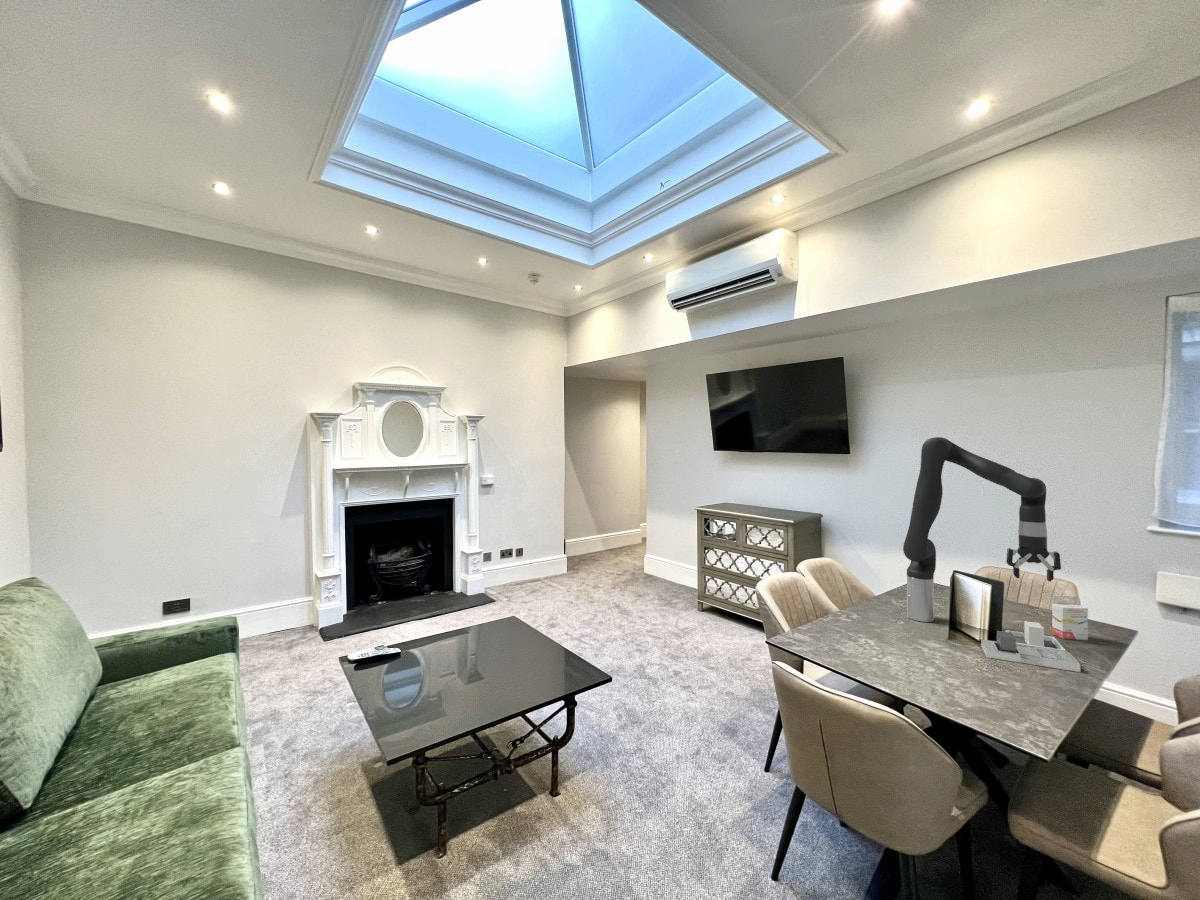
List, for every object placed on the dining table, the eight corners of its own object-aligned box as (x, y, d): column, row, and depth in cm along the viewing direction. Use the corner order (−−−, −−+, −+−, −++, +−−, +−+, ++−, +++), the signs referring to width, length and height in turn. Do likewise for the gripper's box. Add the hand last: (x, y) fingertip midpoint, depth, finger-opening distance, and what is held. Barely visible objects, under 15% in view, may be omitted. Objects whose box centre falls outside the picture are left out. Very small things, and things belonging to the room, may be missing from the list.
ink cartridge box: (1063, 639, 174) (1062, 599, 174) (1051, 634, 179) (1051, 595, 179) (1089, 640, 173) (1088, 599, 173) (1076, 634, 178) (1076, 595, 178)
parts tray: (1014, 647, 168) (1014, 643, 168) (1005, 634, 180) (1005, 630, 180) (1066, 655, 162) (1066, 650, 162) (1053, 640, 173) (1053, 636, 173)
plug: (1029, 646, 169) (1028, 626, 169) (1024, 640, 174) (1024, 621, 174) (1044, 648, 167) (1043, 628, 167) (1039, 642, 172) (1038, 622, 172)
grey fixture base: (986, 657, 161) (986, 636, 161) (981, 646, 170) (981, 626, 170) (1080, 672, 149) (1080, 649, 149) (1069, 659, 158) (1069, 638, 158)
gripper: (1009, 534, 171) (1009, 579, 171) (1062, 537, 164) (1063, 584, 164) (1004, 531, 178) (1005, 574, 178) (1055, 533, 170) (1056, 579, 170)
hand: (1033, 579), depth 171 cm, fingers open, 8 cm apart
